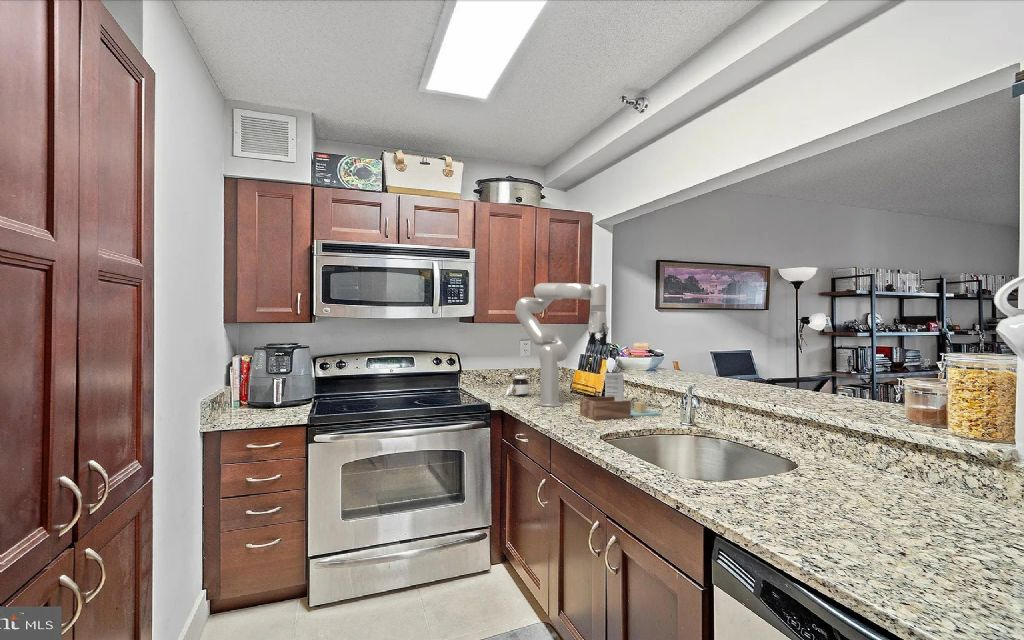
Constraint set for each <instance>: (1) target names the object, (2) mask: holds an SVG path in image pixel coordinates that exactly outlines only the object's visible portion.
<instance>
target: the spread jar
mask: <svg viewBox="0 0 1024 640" xmlns="http://www.w3.org/2000/svg"><path fill="white" fill-rule="evenodd" d="M506 390H507V391H506V396H508V397H510V395H511V393H512V395H513V396H514V397H517V398H524V397H527V396H528V395H529V392H530V383H529V381H528V379H527V375H521V374H519V375H514V379H513V380H512V383H510V384H509V385H508V387H507V389H506Z"/></svg>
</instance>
